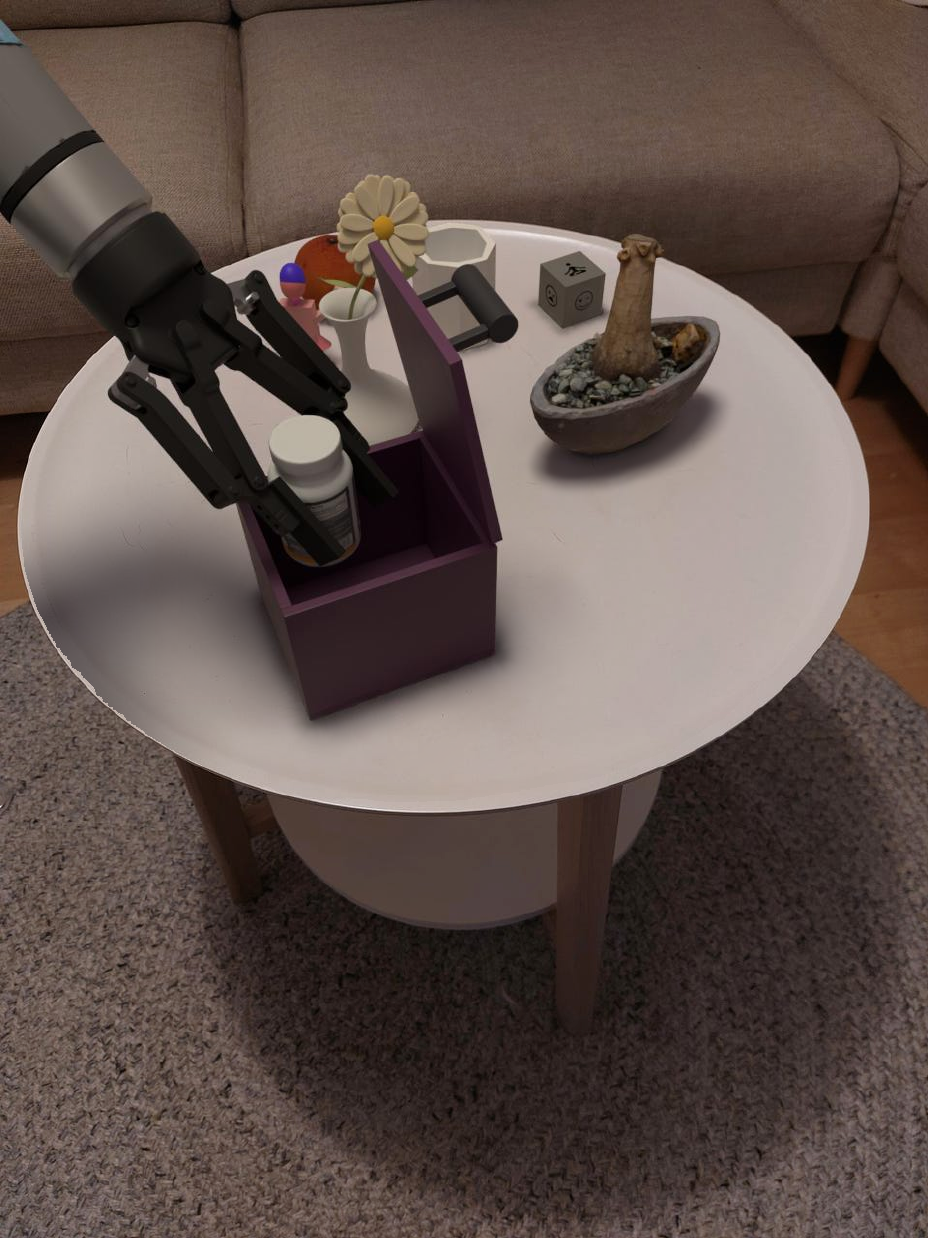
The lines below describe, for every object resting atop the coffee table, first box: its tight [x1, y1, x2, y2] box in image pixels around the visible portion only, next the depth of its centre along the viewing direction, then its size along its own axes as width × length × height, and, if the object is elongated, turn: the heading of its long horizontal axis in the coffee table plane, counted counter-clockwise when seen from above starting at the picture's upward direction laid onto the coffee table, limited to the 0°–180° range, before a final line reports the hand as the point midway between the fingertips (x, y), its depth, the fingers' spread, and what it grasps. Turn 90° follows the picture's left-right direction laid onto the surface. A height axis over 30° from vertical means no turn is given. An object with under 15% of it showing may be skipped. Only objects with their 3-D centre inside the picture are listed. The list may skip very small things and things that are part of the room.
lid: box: [368, 240, 519, 544], centre depth 66 cm, size 16×14×6 cm
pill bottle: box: [267, 415, 361, 567], centre depth 67 cm, size 6×6×10 cm
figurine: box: [279, 262, 344, 352], centre depth 98 cm, size 3×12×11 cm, turn 87°
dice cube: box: [537, 250, 607, 329], centre depth 105 cm, size 5×5×5 cm
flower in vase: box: [317, 173, 429, 446], centre depth 86 cm, size 13×11×25 cm
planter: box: [529, 233, 721, 455], centre depth 87 cm, size 15×17×20 cm
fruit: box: [293, 234, 377, 311], centre depth 106 cm, size 9×9×8 cm
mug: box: [411, 221, 497, 352], centre depth 103 cm, size 12×9×10 cm
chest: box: [235, 429, 498, 721], centre depth 76 cm, size 16×14×13 cm
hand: (359, 527), depth 67 cm, fingers closed on pill bottle, 6 cm apart
